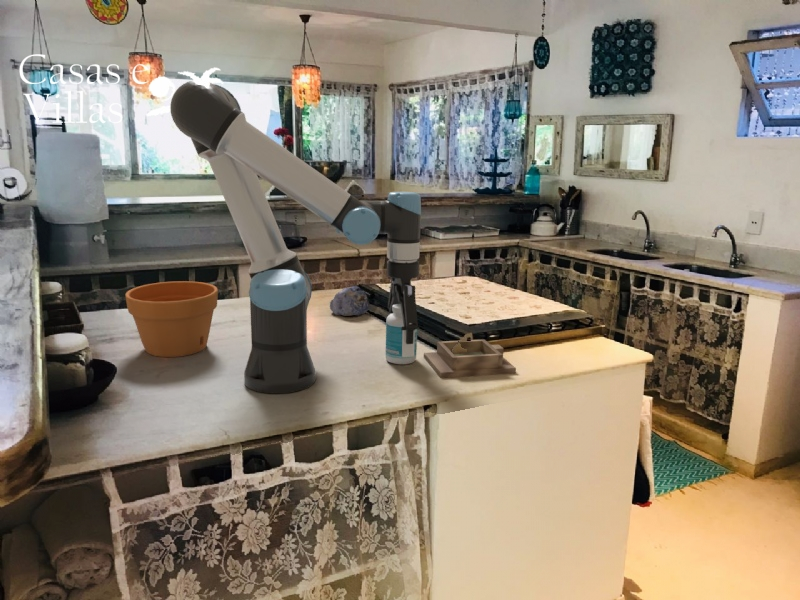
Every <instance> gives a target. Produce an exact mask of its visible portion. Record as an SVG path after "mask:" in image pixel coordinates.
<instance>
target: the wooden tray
mask: <svg viewBox="0 0 800 600" xmlns="http://www.w3.org/2000/svg"><path fill="white" fill-rule="evenodd" d="M470 340H471V341H463V342H458V341H459V340H449V341H447V340H446V341H445V340H444V341H437V344H436V345H437V346H436V348H437V349H436V351H435V352H434V351H433V352H424V353H423V358H424V359H425V361H426V362H427V363H428V364H429V366H430V367H431V368H432V369H433V370H434V372H435V373H436V374H437V375H438V377H439V378H443V377H444V378H456V377H458V378H459V377H472V376H473V377H474V376H489V375H490V376H491V375H505V374H506V375H507V374H516V372H517V371H516V369H517V368H516V366H514V365H513V364H512V363H510V361H508V360H507V359H506V358H504V347H503V346H501V345H500V344H491V343H489V342H488V341H487V340H486V339H483V338H482V339H470ZM458 343H460V344H461V347H462V348H464V349H467V352H468V353H461V354H453V353H452V352H451V350H452V349H453V347H454V346H455V345H456V344H458Z"/></svg>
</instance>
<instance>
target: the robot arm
mask: <svg viewBox="0 0 800 600" xmlns="http://www.w3.org/2000/svg"><path fill="white" fill-rule="evenodd" d="M169 109H170V115H171V118H172V121H173V123H174V124H175V126H176V127H177V129H178V130H179V131H180V132H181V133H182V134H183V135H186V136H187V138H190V139H191V140H190V141H192V144H193V147H194V149H195V151H196V154H197V156H198V157H199V158H202V159H203V160H206V161H207V162H208V163H209V165H210V169H211V170H212V172H213V176H214V178H215V180H216V182H217V185H218V186H219V190H220V191H221V194H222V196H223V199H224V201H225V203H226V205H227V208H228V210H229V213H230V215H231V217H232V220H233V223H234V224H235V226H236V228H237V231H238V234H239V237H240V238H241V241H242V243H243V246H244V248H245V251H246V253H247V255H248V258H249V261H250V262H251V263H250V266H249V269H248V275H249V277H250V279H251V280H250V282H249V288H248V296H249V301H250V302H249V303H250V307H249V309H250V333H251V336H250V337H251V349H250V352H249V355H248V359H247V361H246V366H245V369H244V373H243V374H244V376H243V377H244V378H243V380H244V386H246V387H247V388H248V389H250V390H251V391H255V392H258V393H264V394H288V393H295V392H299V391H302V390H305V389H307V388H310V387H311V386H312V385H314V383H315V382H316V368H315V366H314V363H313V360H312V357H311V354H310V351H309V348H308V337H307V336H308V333H307V332H308V330H307V329H308V328H307V325H308V323H307V313H308V306H309V303H310V301H311V299H312V298H311V297H312V294H313V293H312V292H313V289H312V288H313V287H312V281H311V279H310V277H309V274H307V272H306V271H305V270H304V269H303V267H302V265H301V261H300V260H299V257H298V255H297V253H296V252H295V251H293V250H290V249H288V247H287V246H286V242H285V241H284V240H285V239H284V238H283V235H282V233H281V231H280V228H279V226H278V223H277V221H276V218H275V216H274V214H273V211H272V209H271V207H270V204H269V201H268V199H267V196H266V194H265V191H264V189H263V186H262V184H261V181H260V179H259V177H260V178H262V179H263V180H264V181H266V182H267V183H269V184H270V185H271V186H273V187H274V188H276V189H278V190H279V191H280V192H281V193H283V194H284V195H286V196H287V197H289V198H291V199H292V200H294V201H295V202H296V203H298V204H299V205H301V206H303V207H304V208H306V209H307V210H308V211H310V212H312V213H313V214H314V215H316V216H317V217H319V218H320V219H322V220H324V222H326V223H328V224H329V225H331V226H332V227H333V228H334V230H335V232H337V233H338V234H343V235H344V236H345V237H346V239H347V240H349V242H351V243H353V244H356V245H360V246H361V245H362V246H363V245H365V246H366V245H368V244H370V243H372V242H373V241H374V240H375V239H376V238H378V235H386V234H387V242H386V258H387V259H388V260H387V261H386V276H388V277H389V278H390V286H389V287H390V289H389V294H388V303H387V309H388V310H389V315H390V314H392V313H393V311H392V306H393V305H395V304H401V310H402V317H403V324H404V327H402V328H401V330H403V334H402V357H414V346H415V329H417V330H418V329H419V323H418V312H417V303H416V286H415V285H413V284H412V282H411V280H412V279H416V278H418V277H419V275H420V261H419V260H420V250H422V249H423V246H422V245H421V242H420V241H421V227H422V225H421V224H422V223H421V221H422V204H421V203H422V197H421V195H419V193H417V192H413V191H391V192H389V193H388V195H387V200H362V199H361V200H359V199H358V198H356V197H355V196H353V195H352V194H350V193H349V192H348V191H346V190H345V189H344V188H342V187H341V186H339V185H338V184H336V183H335V182H333V181H332V180H331V179H329V178H327V176H326V175H324V174H322V173H321V172H319V171H318V170H317V169H315V168H314V167H312V166H311V165H309V164H308V163H307V162H305V161H303V160H302V159H301V158H299V157H298V156H296V155H295V154H294V153H292V152H291V151H289V150H288V149H286V148H285V147H284V146H283V145H281V144H279V143H278V142H276V141H275V139H272V138H271V137H270V136H268V135H266V133H264V132H262V131H261V130H259V129H258V128H257V127H255V126H254V125H253V124H251V123H250V122H248V121H247V119H246V113H245V112H243V111H242V109H241V105H240V103H239V101H238V99H237V98H236V97H235V96H234V94H233V93H231V92H230V91H229V89H226V88H225V87H223V86H221V85H218V84H216V83H215V84H214V83H212V82H209V81H205V80H202V79H201V80H200V79H199V80H198V79H197V80H190V81H187V82H185V83H183V84H181V85H180V86H179V87H177V89H176V90H175V92H174V93H173V95H172V97H171V100H170V108H169ZM258 176H259V177H258ZM410 323H411V324H410Z"/></svg>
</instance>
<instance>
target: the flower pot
mask: <svg viewBox="0 0 800 600" xmlns="http://www.w3.org/2000/svg"><path fill="white" fill-rule="evenodd" d="M218 291H219V290H218V287H217V286H215V285H214V284H210V283H207V282H201V281H200V282H199V281H187V280H185V281H184V280H183V281H179V280H178V281H165V282H163V281H162V282H156V283H147V284H143V285H140V286H139V285H138V286H136V287H134V288H132V289H129V290H127V291H126V293H125V302H126V308H127V311H128V313H129V314H130V315H132V317H133V319H134V320H133V321H134V322H135V326H136V329H137V332H138V335H139V338H140V340H141V342H142V343H141V344H142V346H143V348H144V350H145V352H146V353H147V354H148V355H152V356H155V357H160V358H178V357H186V356H191V355H194V354H197V353H199V352H201V351H203V350H204V349H206V348H207V345H208V341H209V338H210V337H209V336H210V331H211V325H212V320H213V316H214V310H215V309H216V308H217V306H218Z"/></svg>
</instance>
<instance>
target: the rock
mask: <svg viewBox="0 0 800 600" xmlns="http://www.w3.org/2000/svg"><path fill="white" fill-rule="evenodd" d="M369 305H370V301H369V297H368V295H367V293H366V291H365V290H362V288H361V287H360V286H358V285H357V286H356V285H355V286H350V287H344V288H342V290H339V292H337V293H335V295H334V297H333V298H332V299H331V300H330V302H329V309H330V311H331V312H332V313H333V314H334V315H336V316H344V317H346V316H347V317H351V316H361V315H362V316H363V315H364V314H366V313H367V312H368V310H369V309H370V307H369Z"/></svg>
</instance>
